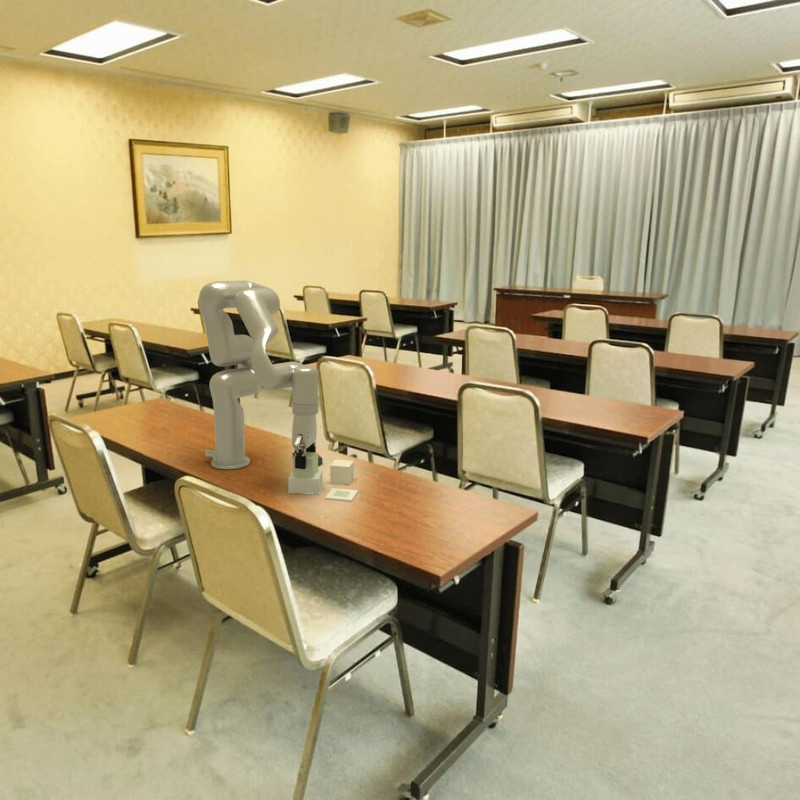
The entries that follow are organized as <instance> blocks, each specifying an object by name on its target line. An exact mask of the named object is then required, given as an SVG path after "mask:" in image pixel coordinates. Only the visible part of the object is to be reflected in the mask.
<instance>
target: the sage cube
mask: <svg viewBox="0 0 800 800" xmlns="http://www.w3.org/2000/svg"><path fill="white" fill-rule="evenodd" d="M318 455H319V453H318V452H316V453H315V452H305V456H306V469H296V468H295V456H292V470H293V477H304V478H313V477H314V476H315V475H316V473H317V472H318V469H319V465H318Z"/></svg>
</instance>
